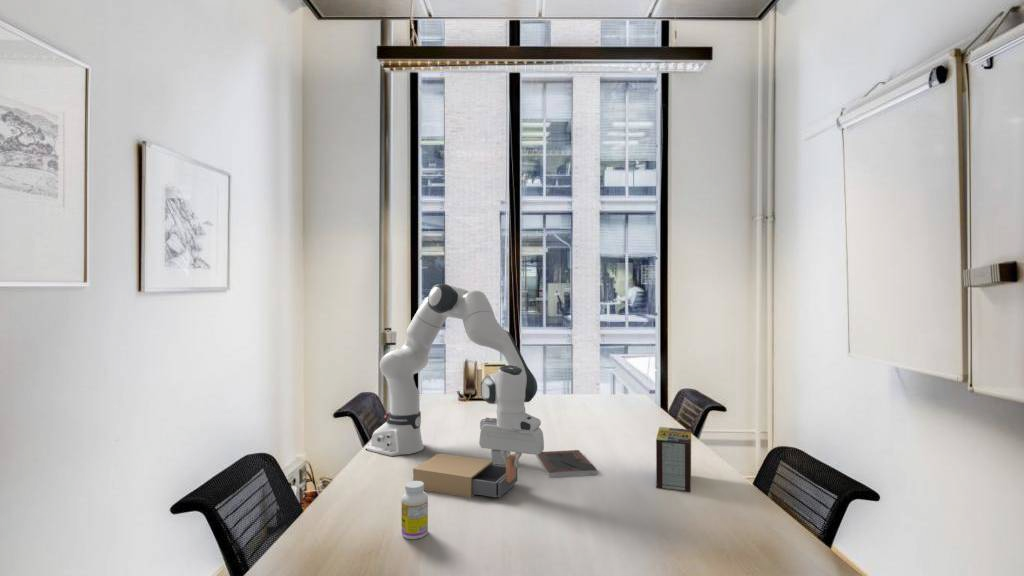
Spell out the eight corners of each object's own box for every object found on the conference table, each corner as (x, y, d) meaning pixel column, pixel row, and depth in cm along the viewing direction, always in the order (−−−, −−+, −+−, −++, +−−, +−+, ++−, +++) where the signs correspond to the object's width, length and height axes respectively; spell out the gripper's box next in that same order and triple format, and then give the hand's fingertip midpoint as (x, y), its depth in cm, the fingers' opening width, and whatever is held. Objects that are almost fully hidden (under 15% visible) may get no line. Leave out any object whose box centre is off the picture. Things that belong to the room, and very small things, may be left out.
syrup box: (507, 465, 186) (507, 424, 186) (490, 464, 187) (490, 423, 187) (510, 460, 192) (510, 420, 192) (494, 459, 193) (494, 419, 193)
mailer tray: (438, 487, 164) (438, 455, 163) (459, 472, 177) (459, 442, 177) (503, 498, 155) (503, 464, 155) (521, 481, 169) (521, 450, 168)
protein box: (691, 475, 177) (691, 429, 177) (690, 492, 162) (691, 442, 162) (658, 471, 180) (658, 426, 180) (655, 488, 166) (655, 438, 166)
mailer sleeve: (413, 487, 166) (413, 468, 166) (438, 471, 181) (438, 453, 181) (470, 497, 158) (470, 477, 158) (492, 479, 173) (492, 460, 173)
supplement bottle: (403, 528, 138) (403, 479, 138) (428, 527, 139) (428, 478, 139) (399, 541, 132) (399, 489, 132) (426, 540, 132) (426, 488, 132)
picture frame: (596, 476, 178) (578, 455, 199) (596, 469, 178) (578, 449, 199) (548, 479, 175) (535, 458, 196) (548, 472, 175) (535, 451, 196)
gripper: (475, 419, 163) (475, 464, 163) (538, 425, 155) (539, 473, 156) (484, 414, 169) (484, 457, 169) (545, 420, 161) (545, 466, 161)
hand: (511, 465), depth 162 cm, fingers closed on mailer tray
